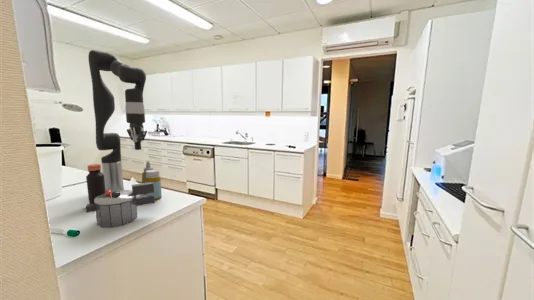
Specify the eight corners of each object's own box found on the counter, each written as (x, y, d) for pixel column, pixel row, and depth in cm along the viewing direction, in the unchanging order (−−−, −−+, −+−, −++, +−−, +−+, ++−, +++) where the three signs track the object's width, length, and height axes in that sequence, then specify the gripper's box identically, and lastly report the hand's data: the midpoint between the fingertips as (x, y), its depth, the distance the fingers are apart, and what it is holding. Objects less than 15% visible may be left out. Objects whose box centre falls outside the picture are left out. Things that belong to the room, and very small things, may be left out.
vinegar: (107, 206, 110) (103, 165, 107) (89, 209, 106) (84, 167, 103) (106, 201, 116) (102, 163, 113) (89, 204, 112) (85, 164, 109)
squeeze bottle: (147, 196, 124) (144, 163, 121) (139, 193, 128) (136, 161, 125) (161, 192, 131) (159, 161, 128) (152, 189, 135) (150, 159, 132)
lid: (93, 208, 85) (92, 196, 84) (95, 196, 97) (94, 186, 96) (156, 197, 97) (155, 187, 96) (151, 188, 109) (150, 178, 108)
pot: (85, 232, 86) (82, 210, 84) (91, 218, 98) (89, 198, 96) (156, 219, 97) (154, 199, 96) (154, 207, 109) (152, 189, 108)
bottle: (144, 199, 120) (141, 171, 117) (155, 195, 126) (154, 168, 123) (152, 201, 116) (150, 173, 114) (164, 197, 123) (162, 170, 120)
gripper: (119, 112, 106) (122, 149, 108) (135, 112, 99) (138, 152, 102) (135, 112, 112) (137, 147, 115) (151, 112, 105) (154, 150, 108)
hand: (138, 149), depth 108 cm, fingers closed
